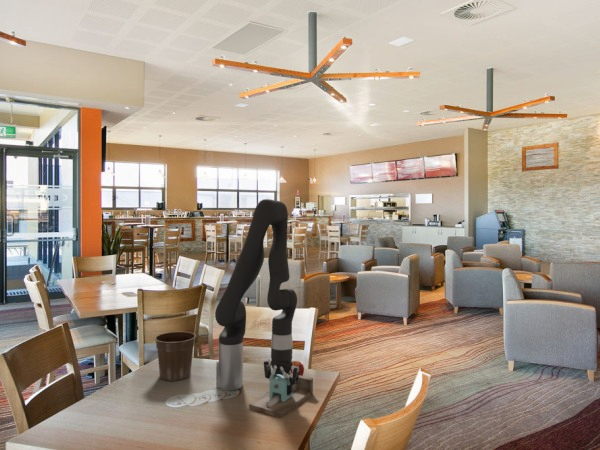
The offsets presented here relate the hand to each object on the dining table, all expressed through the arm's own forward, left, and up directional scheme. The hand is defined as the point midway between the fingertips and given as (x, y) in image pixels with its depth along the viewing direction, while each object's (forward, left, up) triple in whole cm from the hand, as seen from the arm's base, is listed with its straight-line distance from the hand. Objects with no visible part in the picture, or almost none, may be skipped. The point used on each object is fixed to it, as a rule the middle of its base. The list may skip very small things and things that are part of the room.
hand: (281, 392), depth 156 cm
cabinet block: (0, 0, -2) cm, 2 cm away
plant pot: (-50, -1, -4) cm, 50 cm away
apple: (-6, +20, -4) cm, 21 cm away
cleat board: (0, +1, -3) cm, 4 cm away
